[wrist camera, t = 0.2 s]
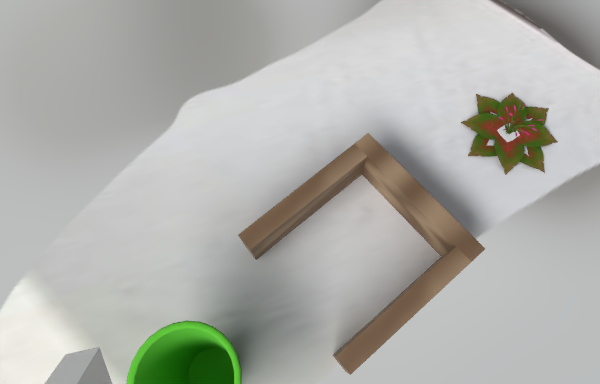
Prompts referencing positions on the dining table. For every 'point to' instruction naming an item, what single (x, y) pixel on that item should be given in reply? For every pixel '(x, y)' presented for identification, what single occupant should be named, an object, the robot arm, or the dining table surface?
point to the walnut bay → (407, 201)
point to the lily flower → (514, 114)
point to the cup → (186, 357)
